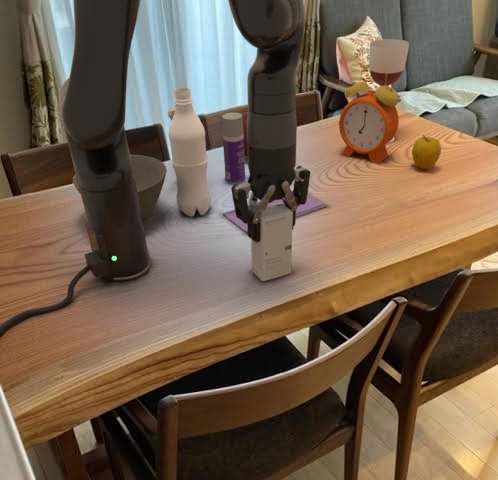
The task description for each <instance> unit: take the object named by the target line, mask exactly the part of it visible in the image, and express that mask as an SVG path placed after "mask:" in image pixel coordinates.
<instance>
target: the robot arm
mask: <svg viewBox="0 0 498 480" xmlns="http://www.w3.org/2000/svg"><path fill="white" fill-rule="evenodd" d="M72 1H73V20H74V45H73V46H74V47H73V55H72V61H71V66H70V72H69V76H68V78H67V79H66V80H65V81H64V83H63V84H62V85H61V87H60V91H59V93H58V108H59V109H58V110H59V114H60V120H61V123H62V126H63V128H64V131H65V136H66V140H67V145H68V147H69V152H70V157H71V162H72V165H73V170H74V175H75V174H76V178H77V182H78V185H79V189H80V193H81V194H80V193H79V194H80V198H81V201H82V205H83V210H84V212H85V213H84V214H85V218H86V221H85V222H84V226H85V230H86V235H87V238H88V242H89V246H90V250H91V251H90V252H87V253H84V255H83V256H84V259H85V262H86V266H84V267H83V268H82V269H80V271H79V272H78V273H76V274H75V276H74V277H72V279H71V281H70V282H69V284H68V287H67V294H66V297H65V298H64V299H63V300H62V301H60V302H58V303H56V304H53V305H50V306H45V307H38V308H33V309H29V310H25V311H22V312H20V313H18V314H16V315H14V316H12V317H10V318H9V319H8V320H6V321H5V322H4V323H2V324H1V325H0V335H1V334H2V333H4V332H5V331H6V330H7V329H8V328H10V327H11V326H13V325H14V324H16V323H18V322H19V321H21V320H23V319H25V318H28V317H31V316H34V315H35V316H36V315H40V314H46V313H51V312H55V311H57V310H61V309H63V308H64V307H65V306H67V305H68V304H69V303H70V302H72V300H73V298H74V293H75V287H76V285H77V284H78V282H79V281H80V280H81V279H82V278H83V277H84V276H85V275H86V274H87V273H89V272H91V274H92V275H93V276H94V278H95V279H98V278H101V277H102V278H103V279H104V280H105V282H106V283H111V282H126V281H131V280H135V279H138V278H140V277H141V276H143V275H145V274H147V272H148V271H149V270H150V268H151V265H152V264H151V263H152V262H151V259H150V253H149V249H148V244H147V238H146V232H145V226H144V222H143V218H142V215H141V209H140V204H139V198H138V192H137V187H136V181H135V176H134V170H133V164H132V160H131V156H130V155H131V151H130V148H129V144H128V139H127V135H126V129H125V123H126V109H127V107H126V106H127V86H128V85H127V83H128V69H129V60H130V59H129V58H130V52H131V47H132V42H133V38H134V33H135V29H136V25H137V21H138V16H139V12H140V11H139V10H140V6H141V1H142V0H72ZM227 1H228V5H229V9H230V12H231V15H232V18H233V21H234V23H235V26H236V28H237V30H238V31H239V33H240V35H241V36H242V37H243V39H244V40H245V41H246V42H247V43H248V44H249V45H251V46H252V47H254V48H256V56H255V59H254V62H253V63H252V65H251V66H250V68H249V69H248V73H247V81H246V82H247V85H246V90H247V117H246V118H247V150H248V157H247V169H248V172H249V175H248V177H247V178H248V179H247V181H246V182H244V183H242V184H240V185H239V184H232V186H231V190H230V191H231V196H232V202H233V207H234V210H235V213H236V217H237V218H238V219H240V220H241V221H242V222H244V223H245V224H247V227H248V234H247V236H248V238H249V239H250V240H251V239H252V240H253V241H254V242H256V243H257V242H260V222H259V220H260V217H261V215H262V212H263V211H265V210H266V208H267V205H268V203H271V202H273V201H274V200H282V202H283V204H284V205H285V206H286V207H287V208H288V209H290V210H291V211H292V212H293V222H292V231H293V230H294V227H295V226H296V221H297V220H296V219H297V217H296V210H297V208H298V206H299V205H304V204H305V203H306V201H307V194H308V193H309V186H310V179H311V171H310V170H309V169H307V168H305V167H304V166H302V165H298V166H297V167H296V165H297V137H298V136H297V134H298V133H297V132H298V120H297V113H296V112H297V109H296V106H297V105H296V104H297V103H296V102H297V71H298V66H299V62H300V58H301V52H302V46H303V41H304V34H305V26H306V25H305V24H306V10H305V4H304V0H227ZM292 185H293V190H292V189H291V186H292ZM292 191H293V193H292ZM250 192H251V194H250V196H249V193H250ZM308 195H309V194H308ZM258 200H259V201H258ZM260 201H261V202H260ZM259 202H260V203H259ZM248 205H249V207H248Z"/></svg>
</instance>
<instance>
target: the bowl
mask: <svg viewBox="0 0 498 480" xmlns="http://www.w3.org/2000/svg"><path fill="white" fill-rule="evenodd" d="M130 156H131V160H132V164H133V170H134V176H135V181H136V187H137V192H138V198H139V204H140V209H141V215H142V219H144V218H145V217H146V216H147V215H149V213H150V212H151V211H152V210H153V209H154V207H155V206H156V204H157V202H158V201H159V198H160V195H161V192H162V190H163V187H164V182H165V180H166V176H167V166H166V164H165V163H164V162H163V161H161V160H160V159H157V158H155V157H152V156H148V155H142V154H130ZM72 184H73V186H74V187H75V189H76V191H77V192H78V193H79V194H80V195H81V193H80V189H79V185H78V182H77V178H76V174H75V173H74V175H73V176H72Z"/></svg>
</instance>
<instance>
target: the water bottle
mask: <svg viewBox="0 0 498 480" xmlns="http://www.w3.org/2000/svg"><path fill="white" fill-rule="evenodd" d="M173 90H174V91H173V92H174V101H173V105H174V106H176V109H175V114H174V116H173V119H172V120H171V122H170V124H169V125H170V126H169V129H168V138H170V139H169V145H170V152H171V163H172V164H171V165H172V168H173V170H174V174H175V176H176V183H177V190H176V202H177V203H176V204H177V206H178V208H179V210H180V211H181V212H182V213H183V214H184V215H186V216H187V217H194V216H195V214H196V211H197V212H198V214H199V215H200V216H204V215H205V214H207V212H208V211H209V208H210V204H211V201H212V195H211V192H210V188H209V187H208V186H209V185H208V176H207V171H208V164H209V161H208V154H207V144H206V131H205V127H204V125H203V123H202V121H201V118H200V117H199V118H200V119H199V118H198V116H199V115H198V114H197V113H196V111H195V109H194V107H193V103H194V100H193V97H192V94H191V91H192V90H191V88H190V87H184V86H183V87H177V88H175V89H173ZM196 114H197V115H198V116H197V115H196ZM206 154H207V155H206Z"/></svg>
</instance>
